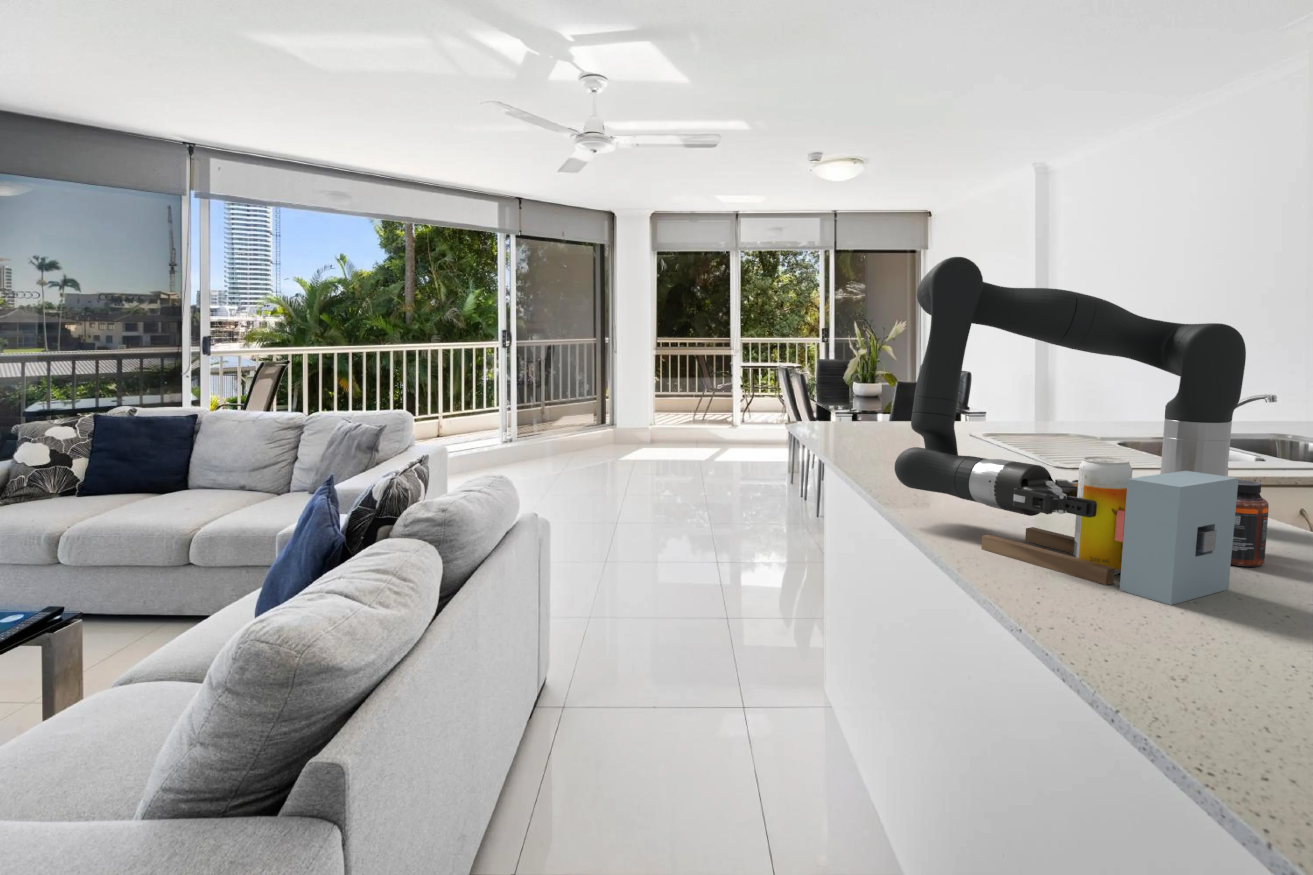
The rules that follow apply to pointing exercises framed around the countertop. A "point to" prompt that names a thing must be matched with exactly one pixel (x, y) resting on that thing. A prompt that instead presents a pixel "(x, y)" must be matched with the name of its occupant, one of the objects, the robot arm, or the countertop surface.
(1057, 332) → the robot arm
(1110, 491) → the beer can
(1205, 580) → the end cabinet
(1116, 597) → the countertop surface
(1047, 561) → the rail track
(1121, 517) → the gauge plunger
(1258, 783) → the countertop surface
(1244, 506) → the supplement bottle
